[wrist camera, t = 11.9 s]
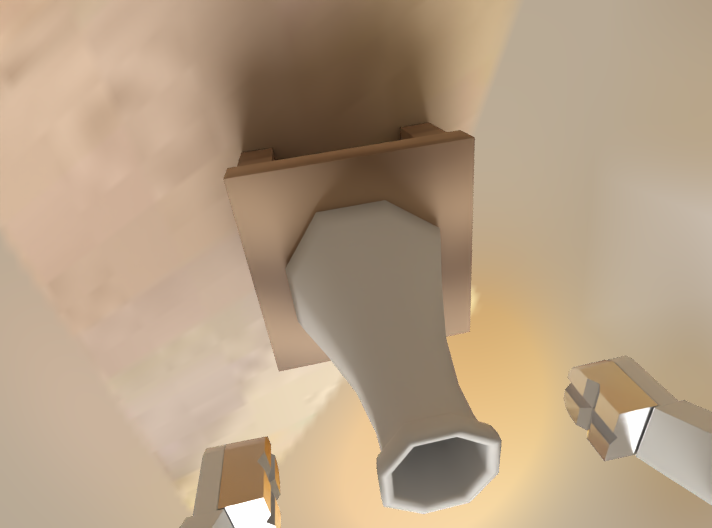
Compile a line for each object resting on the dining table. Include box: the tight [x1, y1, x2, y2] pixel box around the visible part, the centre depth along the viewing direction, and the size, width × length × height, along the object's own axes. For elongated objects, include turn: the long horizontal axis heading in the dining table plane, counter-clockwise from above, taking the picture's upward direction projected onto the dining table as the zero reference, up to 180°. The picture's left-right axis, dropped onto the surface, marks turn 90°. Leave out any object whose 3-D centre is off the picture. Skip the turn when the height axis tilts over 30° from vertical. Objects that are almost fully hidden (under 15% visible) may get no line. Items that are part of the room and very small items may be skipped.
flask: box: [285, 200, 501, 514], centre depth 14 cm, size 7×7×10 cm
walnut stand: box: [223, 123, 475, 371], centre depth 21 cm, size 10×10×5 cm
